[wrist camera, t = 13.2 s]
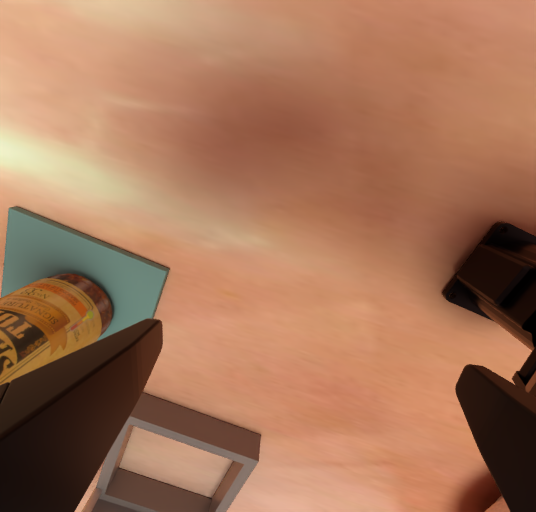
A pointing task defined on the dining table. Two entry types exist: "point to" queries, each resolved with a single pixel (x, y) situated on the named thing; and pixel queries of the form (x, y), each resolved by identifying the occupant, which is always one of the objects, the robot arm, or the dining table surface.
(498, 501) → the cereal bowl
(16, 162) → the dining table surface
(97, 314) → the sauce bottle
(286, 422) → the dining table surface
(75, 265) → the rubber pad
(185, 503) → the open lid tray
